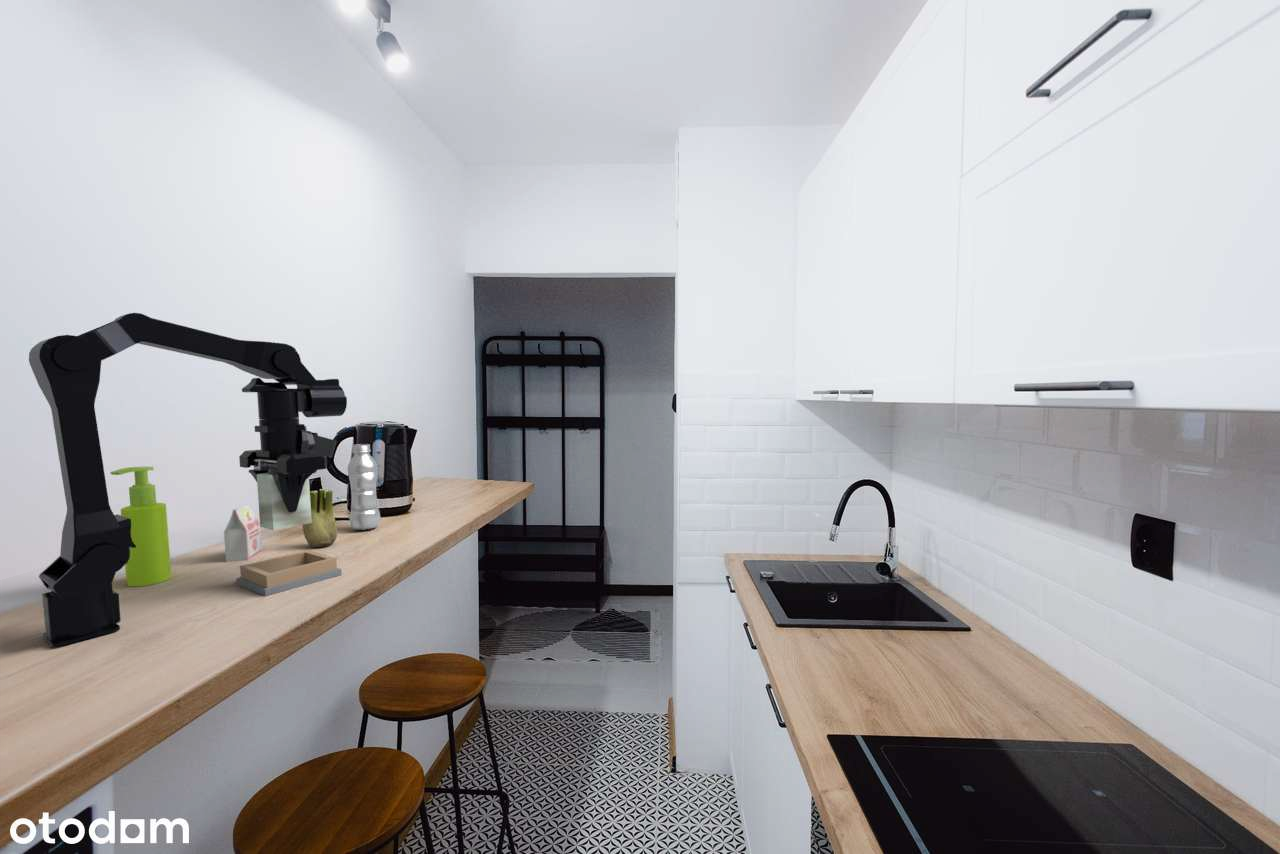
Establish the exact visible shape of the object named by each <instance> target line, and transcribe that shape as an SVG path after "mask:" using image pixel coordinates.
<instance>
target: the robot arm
mask: <svg viewBox="0 0 1280 854" xmlns="http://www.w3.org/2000/svg"><path fill="white" fill-rule="evenodd" d="M137 344H139V345H143V346H147V347H153V348H156V349H161V350H164V351H165V350H166V351H170V352H175V353H181V354H184V355H189V356H193V357H198V358H203V359H207V360H212V361H217V362H222V363H225V364H228V365H230V366H233V367H235V368H236V369H239V370H241V371H243V372H245V373H248V374H250V375H253V376H255V377H253V378H251V380H250V382H249V383H248V384H246V385H245V386H243V387H242V388H241V392H243V393H256V397H257V410H258V411H257V412H258V424H259V425H254V432H256V433H259V439H260V440H259V441H260V449H252V450H244V451H243V452H242V453H241V454H240V455H239V460H238V461H239V467H240V468H244V469H247V468H251V467H253V469H249V470H248V473H249V474H251V476H252V478H254V480H255V481H256V483H257V474H262V473H268V469H275V468H278V470H279V472H280V473H272V476H273V478H274V481H275V483H276V485H277V487H278V490H279V492H280V494H281V497H282V499H283V501H284V504H285V506H286V508H287V510H288V512H295V511H296V510H297V507H298V503H299V500H300V496H301V493H302V489H303V486H304V483H305V481H306V479H307V478H308V477H309V478H310V477H311V476H312V475H313V474H315V473H317V471H320V470H327V468H328V460H327V459H328V458H332V457H333V455H334V452H335V448H336V445H337V440H335V439H332V438H328V437H324V436H321V435H319V433H318V432H312V431H311V430H307V426H306V425H305V424H304V423H300V419H299V418H300V415H299V413H302V414H303V415H304V416H305V418H321V417H322V418H326V417H341V416H343V415H344V414H345V413H346V410H347V405H348V399H347V398H348V397H347V396H346V395H345V391H344V389H343V388H342V387H341V386H340V379H338V378H327V379H316V378H315V377H314V376H313V374H312V373H311V372H310V371H309V369H308V368H307V367H306V366H305V365H304V364H303V362H302V361H301V356H300V354H299V353H298V351H297V349H296V348H295V347H294V346H292V345H290V344H287V343H282V342H281V343H280V342H273V341H261V340H259V341H257V340H242V339H238V338H237V339H236V338H232V337H228V336H224V335H220V334H216V333H212V332H208V331H204V330H201V329H197V328H193V327H188V326H184V325H180V324H176V323H172V322H169V321H164V320H162V319H156V318H154V317H150V316H148V315H146V314H144V313H139V312H132V313H131V312H130V313H127V314H123V315H120V316H118V317H117V318H115V319H114V320H113V321H111V322H108V323H106V324H103V325H101V326H99V327H95V328H94V329H91V330H89V331H86V332H84V333H81V334H79V335H72V334H61V335H56V336H53V337H50V338H47V339H44V340H42V341H40V342H37V344H35V345H34V346H33V347H32V348H31V349H30V351H29V353H28V362H29V366H30V368H31V370H32V373H33V375H34V377H35V379H36V383H37V385H38V387H39V388H40V390H41V392H42V394H43V396H44V397H45V399H46V401H47V404H49V407H50V409H51V414H52V422H53V423H52V424H53V428H54V435H55V441H56V447H57V448H56V449H57V455H58V461H59V466H60V473H61V480H62V486H63V491H64V497H65V503H66V514H65V518H64V523H63V527H62V530H61V531H62V532H61V540H60V555H58V557H57V558H56V559H54V561H52V563H50V564H49V565H48V566H47V567H46V568H45V569H44V570H43V571H42V572H41V573H39V574H38V578H39V579H40V581H41V583H42V584H43V585H44V586H45V588H46V589H49V590H50V591H49V592H43V593H41V597H42V606H43V617H44V627H45V628H44V629H45V632H43V633H42V634H41V635H42V638H43V639H44V640H45V641H46V642H47V643H48V644H49V646H51V647H52V648H58V647H61V646H62V647H63V646H65V645H68V644H72V643H76V642H81V641H83V640H88V639H91V638H95V637H98V636H102V635H106V634H108V633H109V634H111V633H113V632H116V631H119V630H120V629H121V627H120V625H119V624H118V623H120V622H121V619H122V618H121V609H120V596H119V593H118V592H116V591H115V590H113V581H114V579H115V576H116V573H118V571H120V570H122V569H123V567H125V564H126V563H127V562H128V560H129V558H130V548H129V547H131V548H135V547H136V545H135V544H134V543H133V541H132V538H131V519H130V518H127V517H124V516H121V514H114V512H113V510H112V508H111V506H110V502H109V495H108V488H107V482H106V474H105V469H104V462H103V455H102V447H101V441H100V435H99V429H98V421H97V416H96V415H97V414H96V408H95V403H96V398H97V394H98V389H99V386H100V382H101V381H100V380H101V369H102V361H104V360H106V359H108V358H111V357H112V356H115V355H116V354H119V353H122V352H123V351H125V350H126V349H129V348H130V347H133V346H135V345H137ZM263 379H264V380H274V381H275V382H273V381H272V382H270V381H269V382H265V381H263ZM287 386H296V388H288V387H287Z"/></svg>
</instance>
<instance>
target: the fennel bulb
mask: <svg viewBox="0 0 1280 854" xmlns="http://www.w3.org/2000/svg"><path fill="white" fill-rule="evenodd" d="M318 494H319V495H318ZM333 495H334V494H333V490H329V489H326V490H325V488H324V489H323V488H320V489H319V493H318V490H312V491H311V490H310V503H311V519H312V523H309V524H304V525H302V532H303V535H304V538H305V540H306V542H307V545H308V546H309V547H313V548H325V547H329V546H331V545H332V544H334V543H335V541H336V540H337V537H338V530H337V522H336V518H335V513H334V510H333Z"/></svg>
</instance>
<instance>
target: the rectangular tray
mask: <svg viewBox="0 0 1280 854" xmlns="http://www.w3.org/2000/svg"><path fill="white" fill-rule="evenodd" d="M239 570H240V577H236V579H235V580H236V581H235V582H236V585H238V586H241V587H244V588H246V589H248V590H250V591H253V592H254V593H257V594H261V595H262V596H265V597H267V596H269V595H270V596H271V595H274V594H277V593H280V592H281V593H282V592H285V591H289V590H291V589H295V588H299V587H304V586H307V585H310V584H315V583H317V582H321V581H324V580H328V579H332V578H335V577H339V576H342V569H341V568H339V567H338V565H337V557H333V556H330V555H326V554H322V553H320V552H315V551H312V550H309V549H308V550H304V551H300V552H295V553H291V554H286V555H283V556H277V557H274V558H269V559H266V560H265V559H264V560H259V561H256V562H251V563H247V564H244V565H240V566H239Z"/></svg>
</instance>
